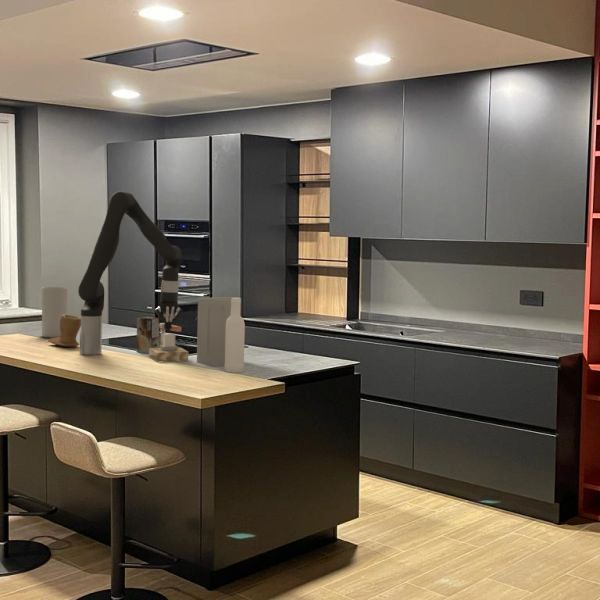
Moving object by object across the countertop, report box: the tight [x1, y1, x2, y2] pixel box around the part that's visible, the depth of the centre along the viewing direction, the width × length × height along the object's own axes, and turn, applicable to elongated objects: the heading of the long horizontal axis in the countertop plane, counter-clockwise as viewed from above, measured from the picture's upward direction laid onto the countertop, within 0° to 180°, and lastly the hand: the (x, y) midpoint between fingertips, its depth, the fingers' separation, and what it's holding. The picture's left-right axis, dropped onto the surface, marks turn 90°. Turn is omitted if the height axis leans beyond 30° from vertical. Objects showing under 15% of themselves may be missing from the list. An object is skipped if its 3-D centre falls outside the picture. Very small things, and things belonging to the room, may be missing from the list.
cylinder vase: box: [41, 286, 68, 339], centre depth 439 cm, size 12×12×25 cm
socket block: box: [148, 346, 189, 363], centre depth 376 cm, size 14×14×4 cm
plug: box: [160, 333, 179, 351], centre depth 376 cm, size 7×7×11 cm
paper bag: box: [196, 296, 242, 367], centre depth 368 cm, size 19×15×28 cm
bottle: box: [224, 297, 246, 374], centre depth 349 cm, size 8×8×30 cm
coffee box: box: [136, 316, 161, 354], centre depth 395 cm, size 9×6×16 cm
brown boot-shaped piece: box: [47, 314, 81, 348], centre depth 406 cm, size 15×12×15 cm
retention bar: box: [160, 322, 182, 333], centre depth 380 cm, size 3×16×2 cm, turn 38°
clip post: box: [160, 328, 166, 345], centre depth 386 cm, size 5×5×12 cm
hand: (167, 330), depth 376 cm, fingers closed
